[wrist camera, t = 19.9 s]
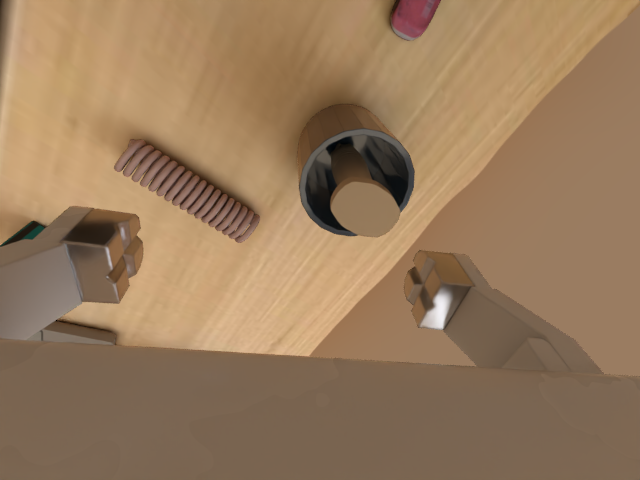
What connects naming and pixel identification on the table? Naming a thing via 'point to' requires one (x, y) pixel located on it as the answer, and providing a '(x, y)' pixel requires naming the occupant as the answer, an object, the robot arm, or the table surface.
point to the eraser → (412, 17)
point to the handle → (360, 195)
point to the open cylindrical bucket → (369, 140)
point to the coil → (186, 190)
